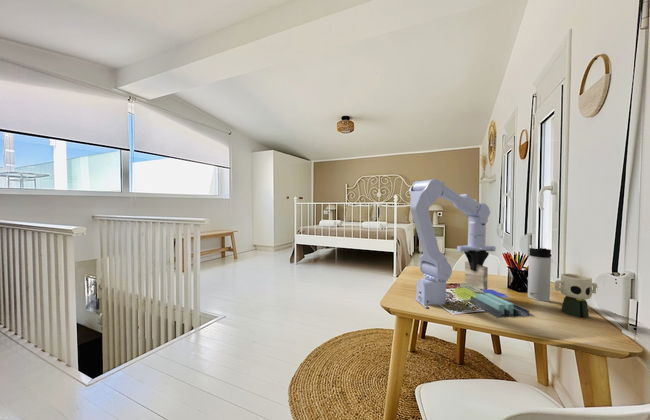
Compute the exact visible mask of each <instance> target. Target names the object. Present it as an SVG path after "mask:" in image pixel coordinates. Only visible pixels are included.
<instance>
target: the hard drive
mask: <svg viewBox="0 0 650 420" xmlns="http://www.w3.org/2000/svg"><path fill="white" fill-rule="evenodd" d="M481 290H482V292H483V294H484V293H490V294H492V295H494V296H499V297H501V298H508V299H509V296H508V295H506V294H505V293H503V292H502V293H501V292H498V291H496V290H494V289H488V288H487V289H484V290H483V289H481Z"/></svg>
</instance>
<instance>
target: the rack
mask: <svg viewBox="0 0 650 420" xmlns="http://www.w3.org/2000/svg"><path fill="white" fill-rule="evenodd" d="M497 297H499V296H497ZM499 298H501V299H503V300H505V301H508V302H510V303H512V304H514V311H513V314H511V311H509V310H507V309H504V314H502V312H501V311H499V310H497V309H495V308H493V307H492V306H490V305H488V304H486V303H484V302H482V301H480V300H478V299H476V297H474V296H470V299H467V300H466V299H465V301H466V302H468V303H469V304H472V305H473V306H475V307H477V308H479V309H480V310H482V311H483V312H486V313H487V314H489V315H491V316H492V317H495V318H496V319H498V318H503V319H504V318H517V317H519V318H520V317H535V314H532V313H530V310H529V309H528V308H525V307H523V306H520V305H518V304H516V303H514V302H512V301H510V300H507V299H505V298H504V297H499Z"/></svg>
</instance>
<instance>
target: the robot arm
mask: <svg viewBox="0 0 650 420" xmlns="http://www.w3.org/2000/svg"><path fill="white" fill-rule="evenodd" d="M408 192H409V196H410V203H409V209H410V213H411V216H412V219H413V222H414V226H415V230H416V233H417V237H418V241H419V244H420V248H421V251H422V254H421V255H420V256H419V258H418V259H419V270H420V272H421V273H422V277H423V278H419V279H417V280H416V285H415V289H416V290H415V291H416V292H415V293H416V294H415V299H414V300H415V301H416V302H418V303H419V304H420V305H422V306H423V307H424V308H427V309H429V308H430V306H428V305H438V306H441V305H444V304H446V301H447V299H446V298H447V282H448V281H449V279H450V278H451V275H452V273H453V268H452V266H451V264H450V263H449V262H448V259H447V257H446V256H445V255H444V254H443V253H442V252H441V251H440V248H439V245H438V241H437V237H436V233H435V229H434V226H433V222H432V218H431V214H430V212H429V209H430V207H431V206H432V205H434V203H435V202H436V201H437V200H438V199H439V198H442V199H444V200H446V201H448V202H449V203H450V202H451V203H453V206H454V208H456V209H457V210H458V211H461V212H463V213H464V215H465V216H466V217H467V218H468V221H467V223H468V226H467V227H468V229H467V230H468V231H467V244H465V245H457V246H456V251H457V252H459V253H462V252H463V253H464V255H465V256H466V259H467V262H469V265H470V269H471V270H473V271H476V268H477V264H478V265H481V266H484V263H485V261H486V259H487V258H488V256H489V255H490V254H489V252H496V246H495V245H486V237H487V236H486V234H487V233H486V232H487V231H486V229H487V227H486V226H487V222H488V219H489V217H490V214H491V210H490V207H489V205H487V204H486V203H480V202H478V200H477V199H474V198H471V197H470V195H469V194H467V193H461V194H458V193H457V192H456V191H454V190H453V189H451V188H450V187H448V186H447V185H446V184H445V181H441V180H440V179H437V178H433V179H429V180H427V179H426V180H421V181H420V180H416V181H414V182H413V183H412V185H411V186H410V188H409V190H408Z"/></svg>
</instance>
